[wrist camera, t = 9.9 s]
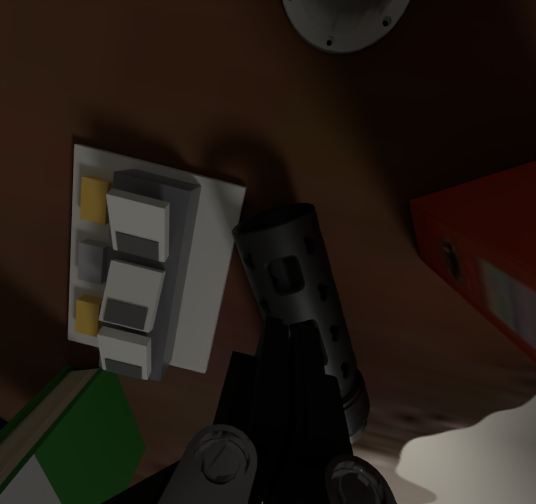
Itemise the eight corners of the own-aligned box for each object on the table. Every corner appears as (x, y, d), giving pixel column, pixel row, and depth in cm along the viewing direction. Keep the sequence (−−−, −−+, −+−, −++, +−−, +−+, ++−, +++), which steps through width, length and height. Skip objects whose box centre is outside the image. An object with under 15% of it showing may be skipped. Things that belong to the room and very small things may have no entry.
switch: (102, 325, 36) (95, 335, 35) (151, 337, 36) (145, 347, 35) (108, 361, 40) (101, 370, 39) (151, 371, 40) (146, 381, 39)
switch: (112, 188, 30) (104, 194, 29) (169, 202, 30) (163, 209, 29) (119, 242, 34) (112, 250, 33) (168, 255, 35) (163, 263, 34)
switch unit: (81, 144, 37) (41, 144, 31) (246, 186, 37) (238, 194, 31) (73, 334, 46) (41, 362, 40) (207, 367, 46) (195, 400, 40)
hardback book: (65, 365, 48) (-136, 565, 25) (111, 360, 47) (-56, 562, 24) (104, 451, 53) (-32, 679, 31) (145, 448, 52) (36, 680, 30)
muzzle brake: (312, 195, 37) (321, 213, 27) (363, 381, 45) (383, 447, 36) (237, 218, 39) (219, 243, 29) (299, 394, 47) (301, 460, 37)
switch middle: (116, 258, 35) (110, 260, 33) (165, 271, 35) (161, 273, 34) (104, 316, 35) (97, 320, 34) (152, 328, 36) (147, 333, 34)
